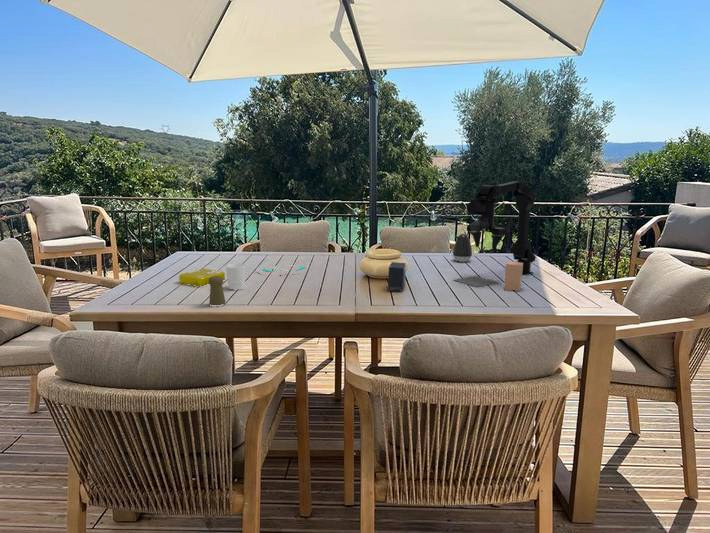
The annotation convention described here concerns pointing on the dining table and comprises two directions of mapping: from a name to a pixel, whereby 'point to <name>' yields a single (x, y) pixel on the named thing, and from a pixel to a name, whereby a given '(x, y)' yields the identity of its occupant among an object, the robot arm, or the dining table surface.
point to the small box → (396, 276)
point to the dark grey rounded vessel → (462, 248)
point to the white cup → (236, 276)
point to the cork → (216, 290)
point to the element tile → (199, 277)
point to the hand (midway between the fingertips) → (485, 248)
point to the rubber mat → (476, 281)
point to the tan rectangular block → (513, 276)
